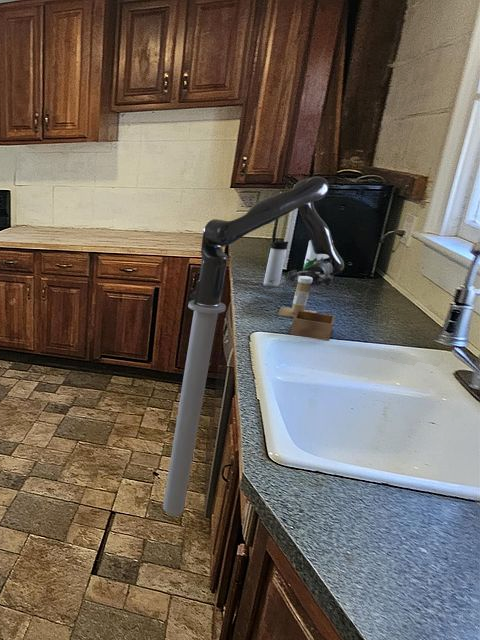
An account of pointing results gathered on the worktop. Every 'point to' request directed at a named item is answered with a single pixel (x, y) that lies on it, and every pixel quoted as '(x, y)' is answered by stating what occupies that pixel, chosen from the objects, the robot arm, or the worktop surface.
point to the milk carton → (312, 256)
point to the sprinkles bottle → (301, 293)
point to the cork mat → (289, 312)
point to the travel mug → (275, 264)
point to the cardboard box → (312, 325)
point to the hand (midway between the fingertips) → (304, 280)
